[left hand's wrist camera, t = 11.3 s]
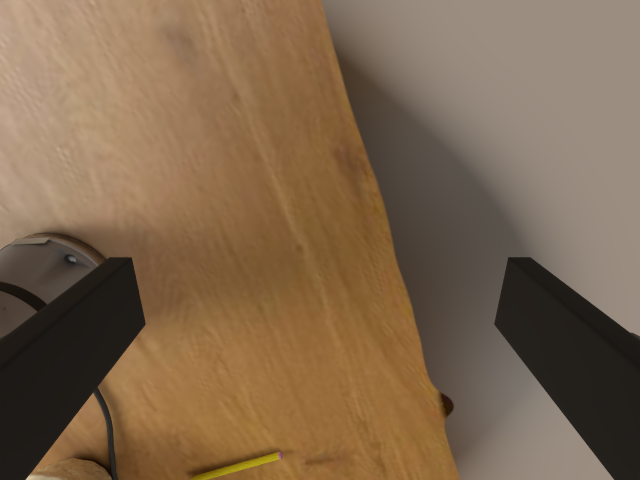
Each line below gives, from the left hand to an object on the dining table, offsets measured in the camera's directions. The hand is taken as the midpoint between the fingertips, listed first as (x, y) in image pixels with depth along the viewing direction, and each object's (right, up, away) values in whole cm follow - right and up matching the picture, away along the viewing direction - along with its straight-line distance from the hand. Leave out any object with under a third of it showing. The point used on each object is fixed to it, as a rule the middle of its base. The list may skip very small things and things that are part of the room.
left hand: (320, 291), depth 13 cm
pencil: (-14, -34, +44) cm, 57 cm away
